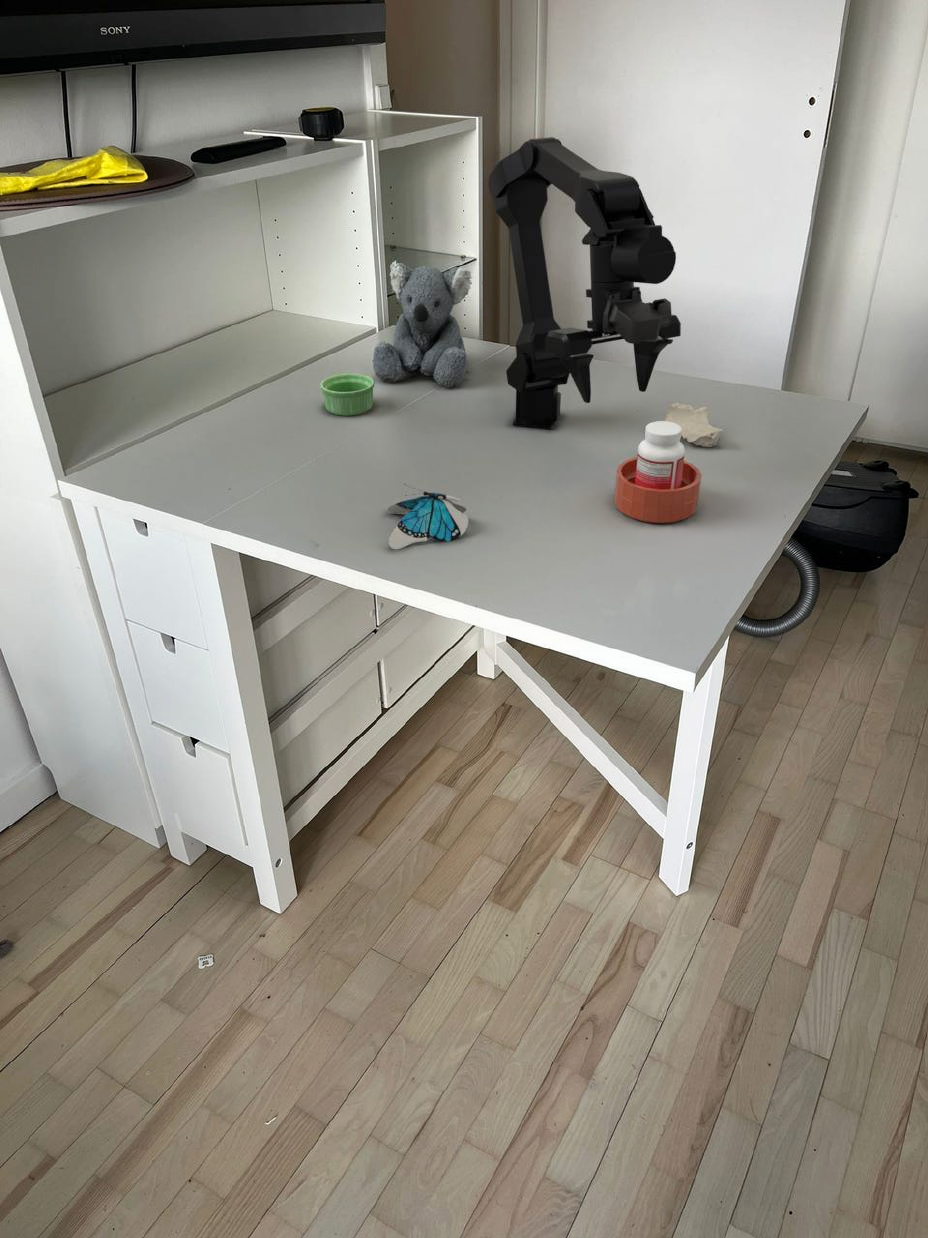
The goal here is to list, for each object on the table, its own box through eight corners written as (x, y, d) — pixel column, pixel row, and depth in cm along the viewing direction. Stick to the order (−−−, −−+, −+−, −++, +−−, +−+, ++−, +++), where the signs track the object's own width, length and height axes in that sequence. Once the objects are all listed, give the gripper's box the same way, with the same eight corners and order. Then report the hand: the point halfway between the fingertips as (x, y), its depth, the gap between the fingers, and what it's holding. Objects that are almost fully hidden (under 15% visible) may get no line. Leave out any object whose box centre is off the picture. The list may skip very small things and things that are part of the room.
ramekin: (313, 413, 161) (310, 388, 159) (338, 395, 168) (336, 370, 166) (360, 420, 159) (358, 395, 156) (384, 401, 165) (383, 376, 163)
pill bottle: (660, 489, 135) (669, 415, 129) (687, 507, 131) (697, 431, 125) (624, 498, 133) (630, 423, 127) (649, 517, 129) (658, 440, 122)
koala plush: (369, 383, 173) (361, 272, 162) (397, 351, 187) (391, 247, 176) (462, 390, 169) (461, 277, 158) (483, 357, 184) (483, 251, 173)
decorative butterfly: (475, 517, 121) (397, 503, 119) (463, 561, 125) (387, 548, 123) (468, 482, 130) (395, 469, 128) (457, 524, 133) (386, 511, 131)
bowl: (607, 518, 129) (610, 485, 126) (621, 483, 138) (624, 451, 135) (691, 529, 126) (696, 495, 124) (700, 493, 135) (705, 460, 132)
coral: (709, 452, 146) (713, 425, 144) (653, 433, 153) (655, 407, 150) (729, 441, 150) (733, 414, 147) (673, 423, 156) (676, 397, 153)
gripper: (584, 292, 118) (589, 418, 125) (707, 273, 125) (705, 394, 131) (540, 288, 128) (546, 405, 134) (656, 270, 134) (657, 382, 141)
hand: (615, 396), depth 135 cm, fingers open, 9 cm apart
